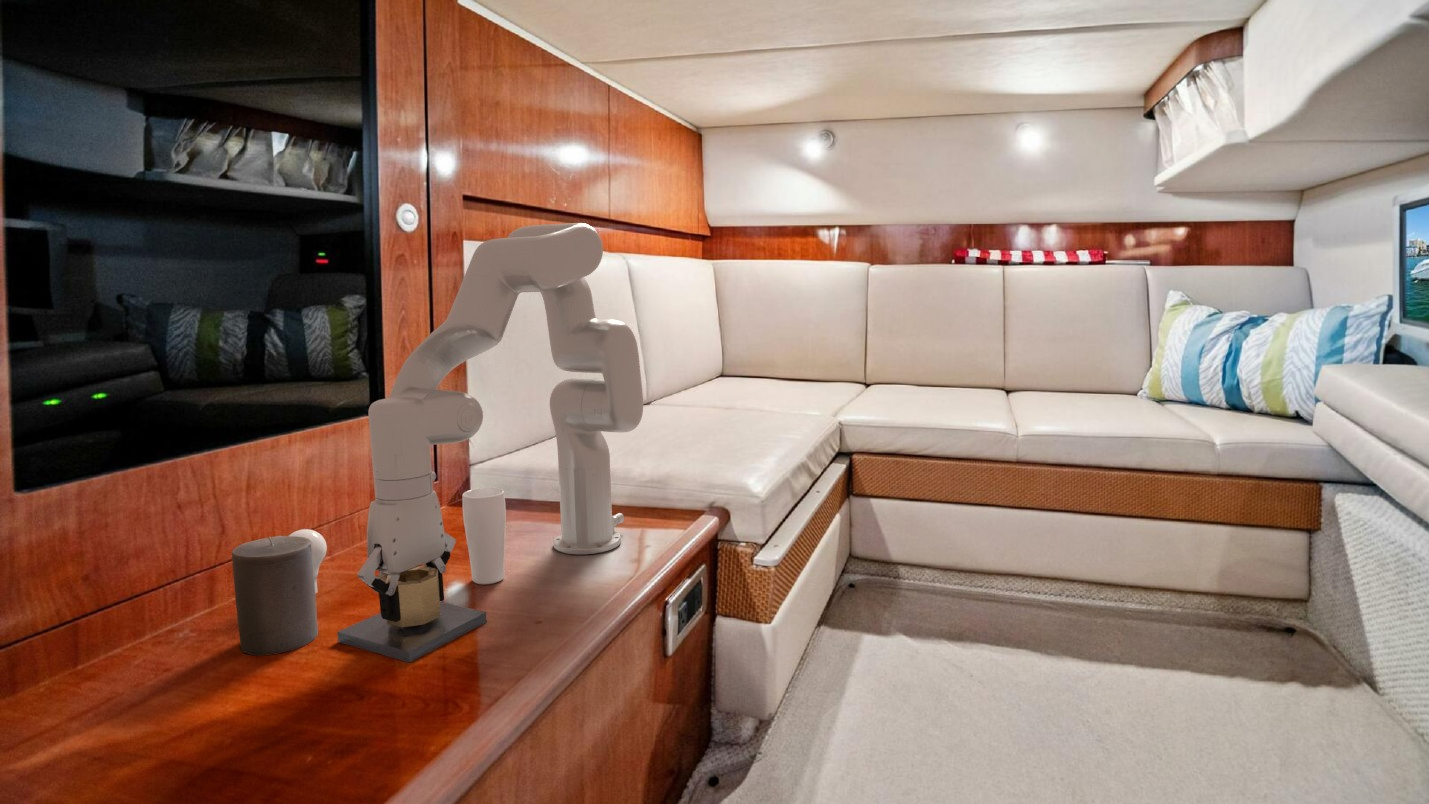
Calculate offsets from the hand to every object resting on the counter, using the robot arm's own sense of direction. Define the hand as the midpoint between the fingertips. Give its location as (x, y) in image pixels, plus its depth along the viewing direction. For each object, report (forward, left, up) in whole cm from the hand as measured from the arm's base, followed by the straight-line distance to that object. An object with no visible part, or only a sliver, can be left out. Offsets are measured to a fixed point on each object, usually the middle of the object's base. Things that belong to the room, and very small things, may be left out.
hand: (413, 608), depth 112 cm
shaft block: (0, 0, -3) cm, 3 cm away
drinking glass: (-20, -5, -4) cm, 21 cm away
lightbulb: (-2, -26, -4) cm, 26 cm away
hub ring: (0, 0, -1) cm, 1 cm away
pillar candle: (+10, -15, -4) cm, 19 cm away
